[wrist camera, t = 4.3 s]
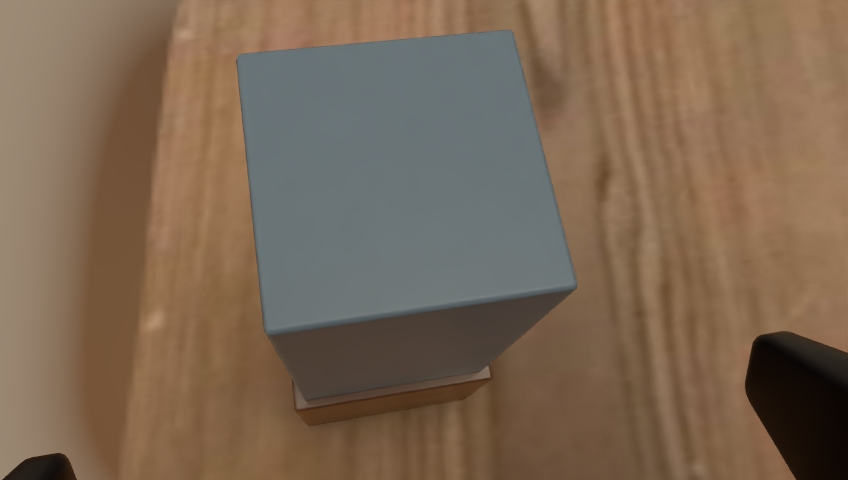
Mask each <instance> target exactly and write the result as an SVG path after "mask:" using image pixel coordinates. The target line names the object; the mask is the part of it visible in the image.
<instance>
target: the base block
mask: <svg viewBox="0 0 848 480" xmlns="http://www.w3.org/2000/svg"><path fill="white" fill-rule="evenodd" d="M492 377H493V376H492V371H491V366H490V364H489V365H487V366H486V367H485V368H484V369H483V370H481V371H479V372H473V373H467V374H461V375H455V376H449V377H443V378H437V379H431V380H425V381H419V382H413V383H407V384H401V385H395V386H389V387H383V388H377V389H371V390H365V391H359V392H353V393H347V394H341V395H335V396H329V397H323V398H317V399H311V400H305V399H304V398H303V396H302V394H301V393H300V391H299V389H298V388H297V386H296V384H295V382H294V381H293V379H292V386H293V395H294V404H295V410H296V412H297V413H298V414H299V415H300V417H301V418H302V419H303V420H304V422H305V423H306V424H307V425H308V426H311V425H317V424H323V423H328V422H334V421H340V420H346V419H352V418H357V417H363V416H369V415H375V414H381V413H387V412H392V411H398V410H404V409H410V408H416V407H421V406H427V405H433V404H439V403H445V402H450V401H456V400H462V399H465V398H466V397H468V396H469V395H470V394H472V393H473V392H475V391H476V390H477V389H479V388H480V387H481V386H483V385H484V384H485V383H487V382H488V381H489V380H491V379H492Z"/></svg>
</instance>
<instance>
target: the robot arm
mask: <svg viewBox="0 0 848 480" xmlns="http://www.w3.org/2000/svg"><path fill="white" fill-rule="evenodd" d="M745 390H746V394H747V397H748V400H749V402H750V403H751V405H752V407H753V408H754V410H755V412H756V413H757V415H758V417H759V418H760V420H761V422H762V423H763V425H764V427H765V428H766V430H767V432H768V433H769V435H770V437H771V438H772V440H773V442H774V443H775V445H776V447H777V448H778V450H779V452H780V454H781V455H782V457H783V459H784V460H785V462H786V464H787V465H788V467H789V469H790V470H791V472H792V474H793V475H794V477H795V479H796V480H848V353H846V352H844V351H841V350H838V349H835V348H833V347H830V346H827V345H824V344H822V343H819V342H816V341H813V340H811V339H808V338H805V337H802V336H799V335H797V334H794V333H791V332H787V331H780V332H774V333H769V334H763V335H760V336H758V337H757V338H756V339H755V340H754V342H753V345H752V349H751V354H750V359H749V364H748V369H747V374H746V379H745ZM3 480H77V479H76V477H75V474H74V471H73V469H72V466H71V463H70V461H69V459H68V458H67V457H66V456H65V455H64V454H61V453H56V454H49V455H43V456H37V457H32V458H29V459H26V460H24V461H23V462H22V463H20V464H19V465H18V466H17V467H16V468H15V469H14V470H12V471H11V472H10V473H9V474H8V475H7V476H6V477H5V478H4V479H3Z"/></svg>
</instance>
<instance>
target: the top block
mask: <svg viewBox="0 0 848 480" xmlns="http://www.w3.org/2000/svg"><path fill="white" fill-rule="evenodd" d="M236 63H237V72H238V82H239V92H240V101H241V111H242V121H243V131H244V140H245V150H246V160H247V169H248V179H249V189H250V198H251V208H252V218H253V228H254V237H255V247H256V257H257V266H258V276H259V286H260V296H261V305H262V315H263V325H264V331H265V333H266V335H267V336H268V338H269V340H270V341H271V343H272V345H273V347H274V348H275V350H276V352H277V353H278V355H279V357H280V359H281V360H282V362H283V364H284V365H285V367H286V369H287V370H288V372H289V374H290V376H291V377H292V379H293V381H294V382H295V384H296V386H297V388H298V389H299V391H300V393H301V394H302V396H303V398H304V399H305V400H311V399H317V398H323V397H329V396H335V395H341V394H347V393H353V392H359V391H365V390H371V389H377V388H383V387H389V386H395V385H401V384H407V383H413V382H419V381H425V380H431V379H437V378H443V377H449V376H455V375H461V374H467V373H473V372H479V371H481V370H483V369H484V368H485V367H486V366H487V365H489V364H490V363H491V362H492V361H493V360H494V359H496V358H497V357H498V356H499V355H500V354H501V353H502V352H504V351H505V350H506V349H507V348H508V347H509V346H511V345H512V344H513V343H514V342H515V341H516V340H518V339H519V338H520V337H521V336H522V335H523V334H524V333H526V332H527V331H528V330H529V329H530V328H531V327H533V326H534V325H535V324H536V323H537V322H538V321H540V320H541V319H542V318H543V317H544V316H545V315H546V314H548V313H549V312H550V311H551V310H552V309H553V308H555V307H556V306H557V305H558V304H559V303H560V302H562V301H563V300H564V299H565V298H566V297H567V296H568V295H570V294H571V293H572V292H573V291H574V290H575V289H577V280H576V276H575V272H574V268H573V264H572V260H571V256H570V252H569V248H568V244H567V240H566V237H565V233H564V229H563V225H562V221H561V217H560V213H559V209H558V205H557V201H556V197H555V194H554V190H553V186H552V182H551V178H550V174H549V170H548V166H547V162H546V158H545V154H544V151H543V147H542V143H541V139H540V135H539V131H538V127H537V123H536V119H535V115H534V111H533V108H532V104H531V100H530V96H529V92H528V88H527V84H526V80H525V76H524V72H523V68H522V65H521V61H520V57H519V53H518V49H517V45H516V41H515V37H514V34H513V32H512V31H511V30H500V31H489V32H478V33H467V34H455V35H444V36H433V37H422V38H411V39H400V40H389V41H377V42H366V43H355V44H344V45H333V46H322V47H311V48H300V49H288V50H277V51H266V52H255V53H244V54H240V55H238V57H237V60H236Z"/></svg>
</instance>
